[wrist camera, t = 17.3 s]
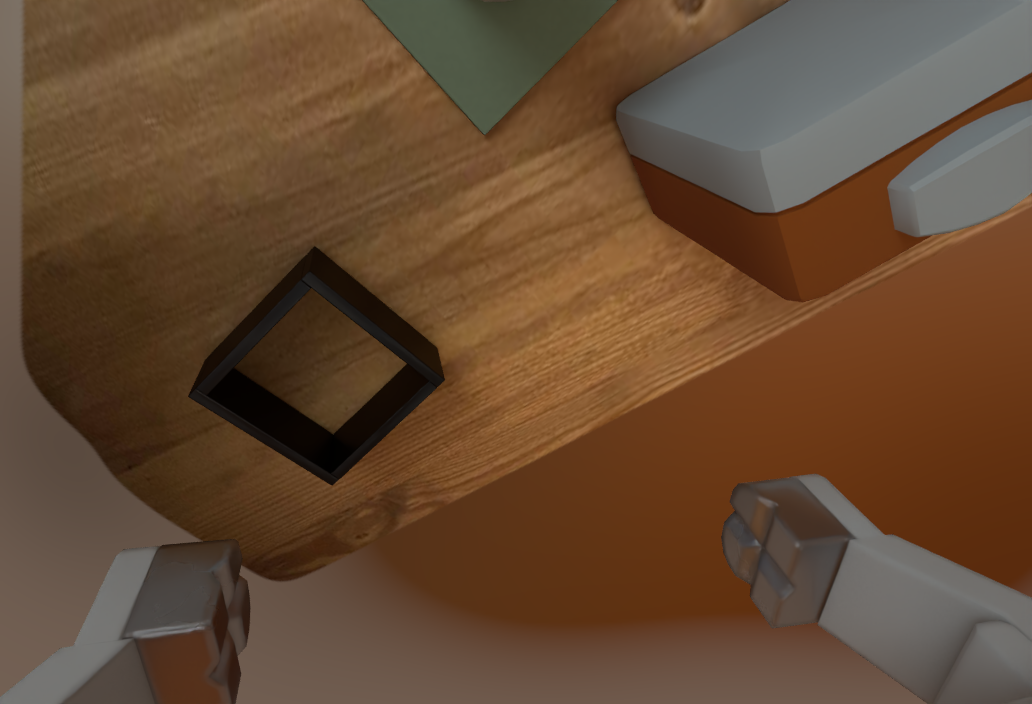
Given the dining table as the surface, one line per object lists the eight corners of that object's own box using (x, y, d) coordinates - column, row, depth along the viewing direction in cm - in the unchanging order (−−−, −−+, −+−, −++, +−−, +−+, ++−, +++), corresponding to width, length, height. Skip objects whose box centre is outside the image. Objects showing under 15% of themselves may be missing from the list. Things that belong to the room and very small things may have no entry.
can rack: (204, 360, 44) (187, 396, 40) (314, 245, 42) (309, 270, 38) (334, 446, 50) (332, 486, 45) (437, 348, 48) (445, 380, 43)
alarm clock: (649, 217, 46) (828, 335, 29) (604, 106, 42) (782, 164, 24) (871, 88, 46) (1197, 128, 28) (848, -38, 41) (1219, -87, 23)
